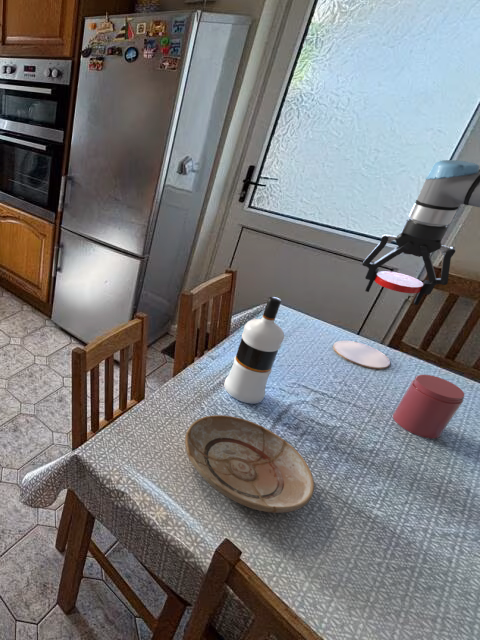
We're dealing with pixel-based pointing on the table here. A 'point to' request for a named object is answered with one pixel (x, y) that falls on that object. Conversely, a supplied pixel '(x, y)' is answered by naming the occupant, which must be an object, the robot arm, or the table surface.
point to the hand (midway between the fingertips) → (391, 296)
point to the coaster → (361, 354)
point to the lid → (398, 282)
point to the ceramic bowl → (249, 464)
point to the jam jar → (428, 406)
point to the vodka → (255, 356)
